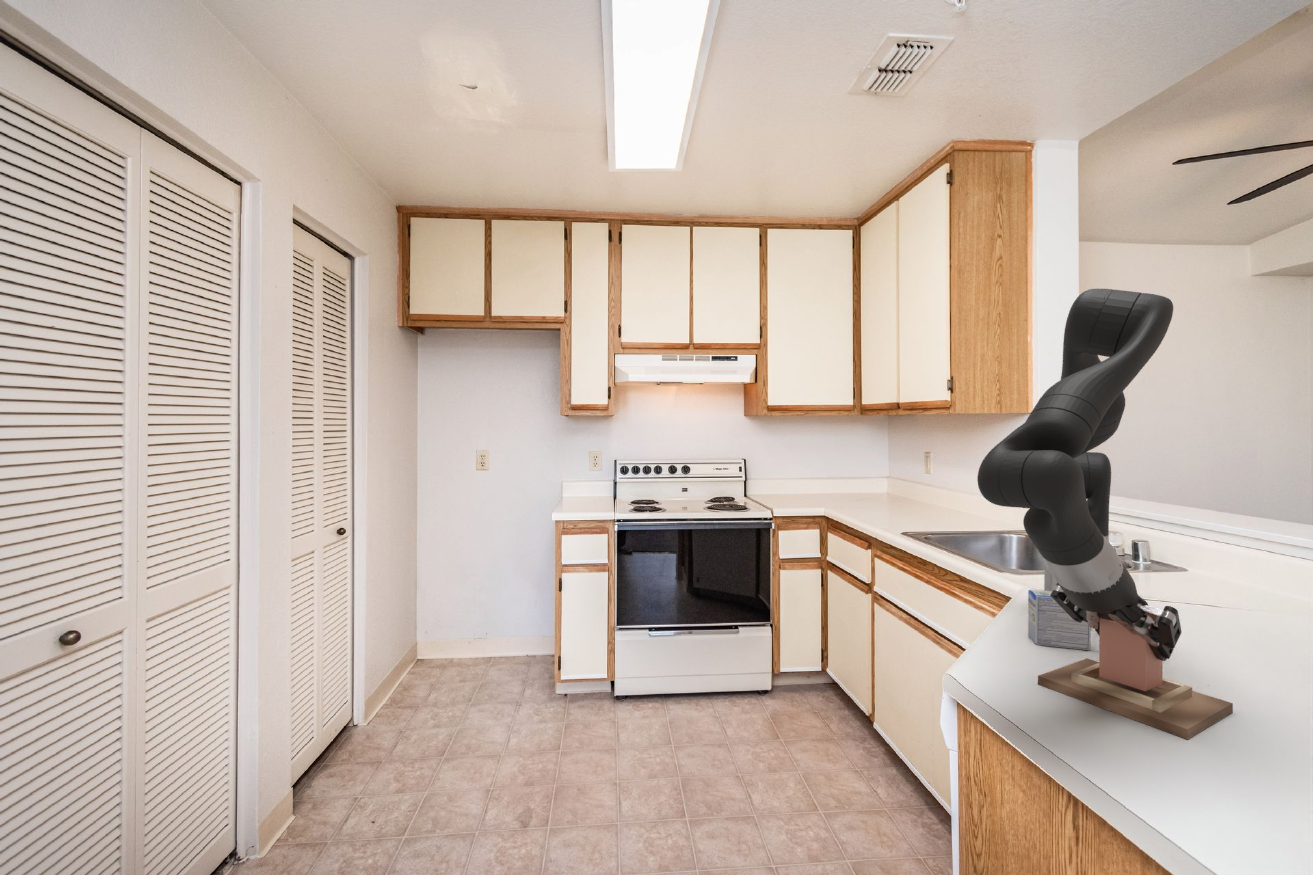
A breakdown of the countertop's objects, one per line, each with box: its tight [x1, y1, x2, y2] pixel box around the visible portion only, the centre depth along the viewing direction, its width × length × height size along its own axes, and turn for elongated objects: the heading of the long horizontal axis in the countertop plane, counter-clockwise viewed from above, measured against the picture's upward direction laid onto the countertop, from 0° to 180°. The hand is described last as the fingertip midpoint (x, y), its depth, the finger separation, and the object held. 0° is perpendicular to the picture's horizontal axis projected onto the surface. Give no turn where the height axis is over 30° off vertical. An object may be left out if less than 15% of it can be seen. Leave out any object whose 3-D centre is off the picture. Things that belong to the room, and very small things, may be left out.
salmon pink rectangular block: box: [1098, 618, 1164, 691], centre depth 73 cm, size 5×5×8 cm
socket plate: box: [1037, 658, 1234, 741], centre depth 73 cm, size 16×14×2 cm
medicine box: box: [1027, 589, 1092, 651], centre depth 92 cm, size 8×4×9 cm, turn 71°
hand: (1137, 646), depth 73 cm, fingers closed on salmon pink rectangular block, 5 cm apart
